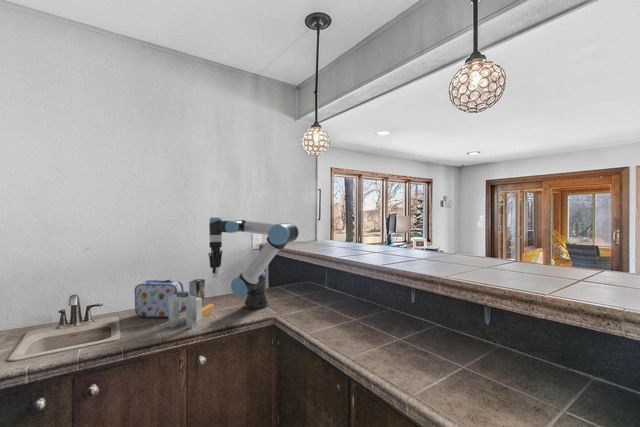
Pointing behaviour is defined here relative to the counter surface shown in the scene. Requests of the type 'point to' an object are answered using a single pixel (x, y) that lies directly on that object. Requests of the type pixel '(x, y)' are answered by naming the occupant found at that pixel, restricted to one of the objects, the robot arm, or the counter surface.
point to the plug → (201, 309)
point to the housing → (174, 309)
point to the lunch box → (156, 297)
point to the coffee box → (197, 289)
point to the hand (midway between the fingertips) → (215, 277)
